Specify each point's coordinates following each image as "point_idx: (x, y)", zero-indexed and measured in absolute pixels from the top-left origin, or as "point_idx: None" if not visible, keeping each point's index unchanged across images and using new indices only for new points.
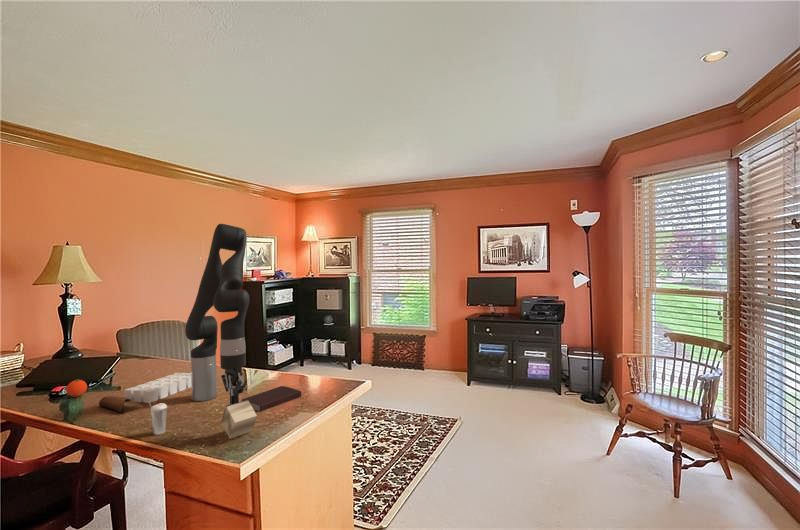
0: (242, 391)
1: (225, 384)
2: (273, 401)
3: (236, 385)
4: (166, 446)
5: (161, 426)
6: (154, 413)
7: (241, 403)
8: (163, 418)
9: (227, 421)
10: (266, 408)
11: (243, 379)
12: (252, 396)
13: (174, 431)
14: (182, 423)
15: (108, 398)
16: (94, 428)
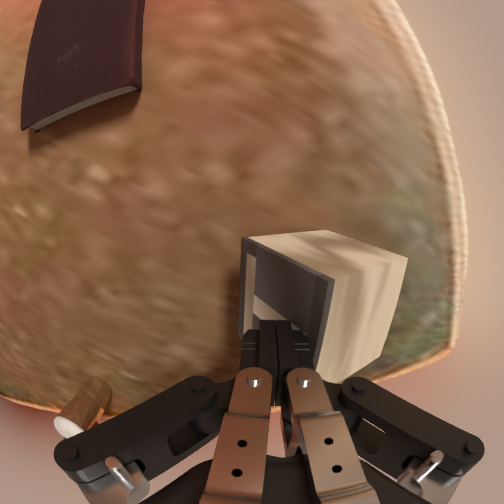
0: (379, 389)
1: (179, 460)
2: (134, 23)
3: (396, 472)
4: None
5: (104, 402)
6: None
7: (331, 328)
8: (94, 412)
9: None
10: (140, 60)
11: (462, 474)
12: (28, 84)
13: (111, 369)
14: (65, 330)
15: None
16: (30, 401)
